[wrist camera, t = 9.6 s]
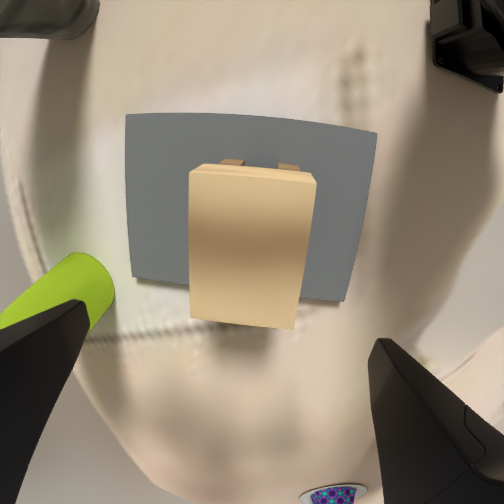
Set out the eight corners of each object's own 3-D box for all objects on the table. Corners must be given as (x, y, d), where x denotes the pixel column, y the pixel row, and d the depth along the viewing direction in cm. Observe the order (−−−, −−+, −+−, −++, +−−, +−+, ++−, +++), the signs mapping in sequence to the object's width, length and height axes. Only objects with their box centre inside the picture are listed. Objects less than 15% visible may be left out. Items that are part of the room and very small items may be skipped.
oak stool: (290, 264, 21) (293, 329, 14) (216, 257, 21) (190, 317, 15) (303, 160, 18) (316, 183, 11) (221, 153, 18) (189, 172, 12)
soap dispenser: (85, 322, 26) (-24, 484, 8) (52, 260, 24) (-96, 408, 5) (130, 315, 25) (16, 515, 7) (95, 244, 22) (-82, 430, 4)
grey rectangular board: (373, 132, 17) (377, 133, 17) (342, 295, 22) (344, 301, 22) (131, 114, 18) (125, 114, 17) (136, 272, 23) (132, 276, 22)
